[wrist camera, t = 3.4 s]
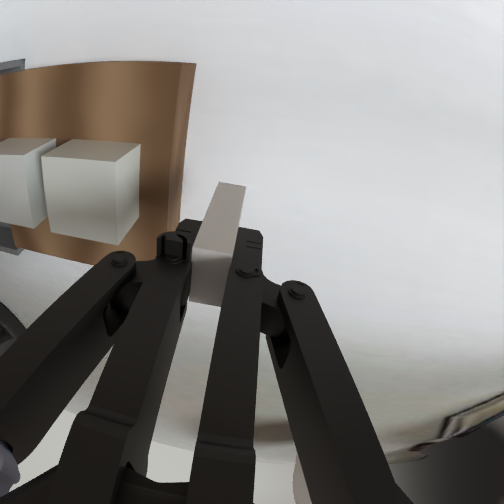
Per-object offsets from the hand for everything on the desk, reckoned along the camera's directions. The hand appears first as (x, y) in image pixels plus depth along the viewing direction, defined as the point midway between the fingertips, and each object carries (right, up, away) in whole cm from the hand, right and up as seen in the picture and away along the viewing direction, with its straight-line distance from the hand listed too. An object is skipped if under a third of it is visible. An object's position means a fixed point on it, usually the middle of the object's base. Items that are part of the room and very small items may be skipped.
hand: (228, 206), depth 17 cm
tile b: (-8, +2, +1) cm, 9 cm away
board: (-11, +5, +4) cm, 12 cm away
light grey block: (-15, +3, 0) cm, 15 cm away
